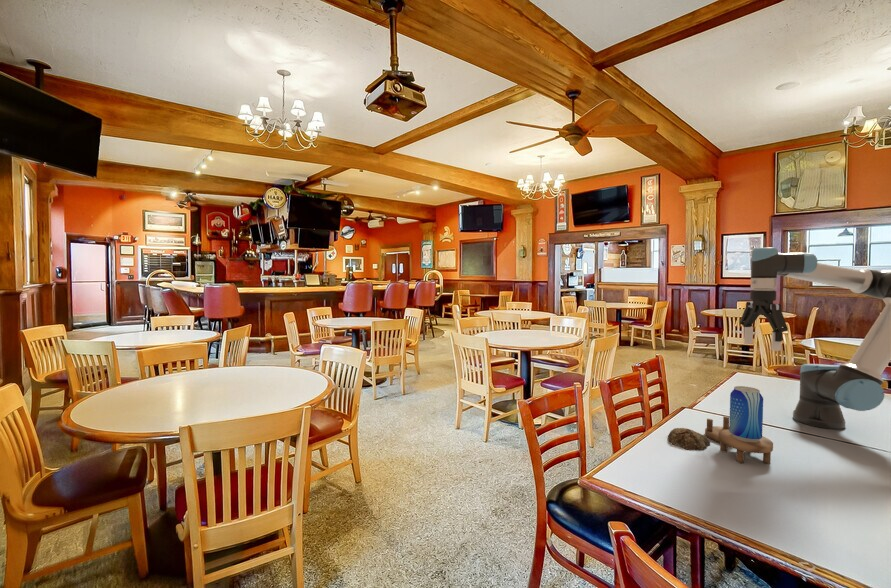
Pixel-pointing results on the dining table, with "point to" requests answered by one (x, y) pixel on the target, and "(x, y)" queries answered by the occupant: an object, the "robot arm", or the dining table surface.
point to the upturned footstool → (716, 429)
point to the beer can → (746, 414)
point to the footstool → (745, 446)
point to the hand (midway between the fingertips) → (761, 347)
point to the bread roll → (688, 439)
